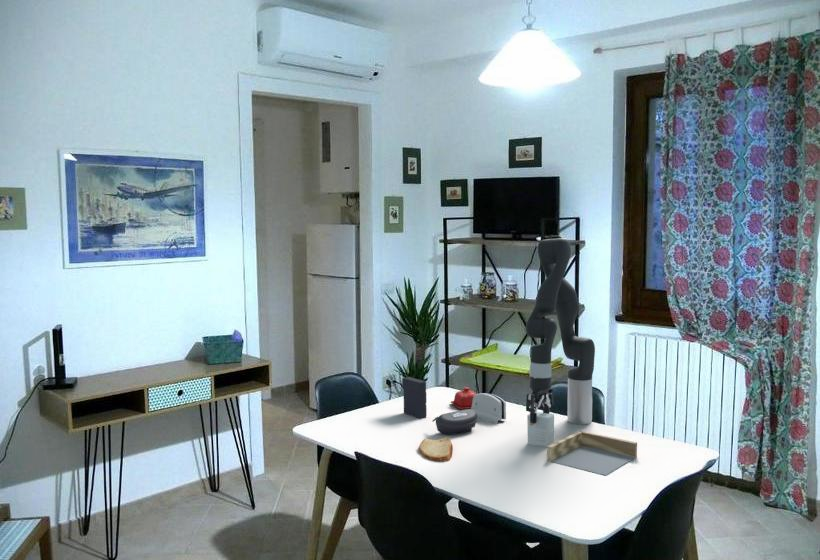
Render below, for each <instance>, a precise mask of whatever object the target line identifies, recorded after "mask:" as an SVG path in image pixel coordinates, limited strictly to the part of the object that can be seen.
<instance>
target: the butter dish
mask: <svg viewBox="0 0 820 560" xmlns="http://www.w3.org/2000/svg"><path fill="white" fill-rule="evenodd" d="M476 394H477V393H476V392H475V391H473V390H470V387H468V386H464V387H463V390H460V391H457V392H456V393H455V394H454V398H453V400H452V401H450V403H451V404H452V405H453V406H454V407H456V408H457V409H460V410H466V409H471V407H472V402H473V396H474V395H476Z"/></svg>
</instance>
